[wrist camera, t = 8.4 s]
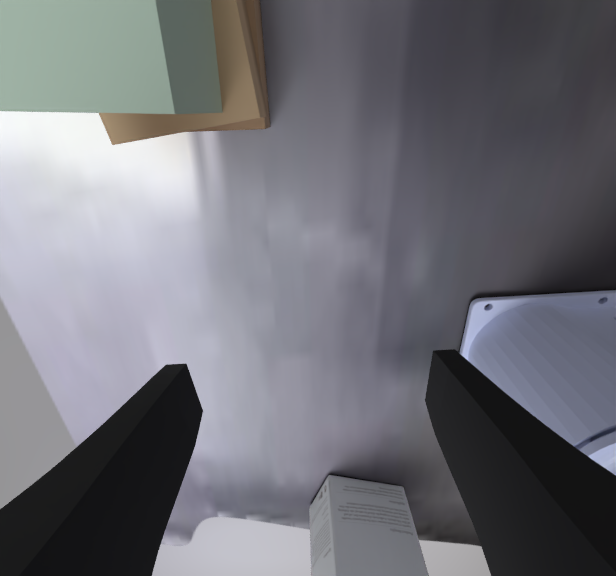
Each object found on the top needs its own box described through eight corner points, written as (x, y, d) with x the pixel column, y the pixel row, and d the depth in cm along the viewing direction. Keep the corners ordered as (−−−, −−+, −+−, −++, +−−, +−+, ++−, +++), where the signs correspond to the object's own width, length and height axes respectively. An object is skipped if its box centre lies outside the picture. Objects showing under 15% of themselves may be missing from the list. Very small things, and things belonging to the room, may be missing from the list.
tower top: (231, -71, 11) (211, -118, 8) (268, 116, 13) (260, 117, 11) (77, -35, 11) (20, -71, 9) (143, 139, 14) (112, 144, 12)
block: (203, -66, 9) (121, -204, 5) (222, 112, 11) (174, 113, 7) (47, -69, 9) (-159, -211, 5) (97, 110, 11) (-19, 110, 7)
